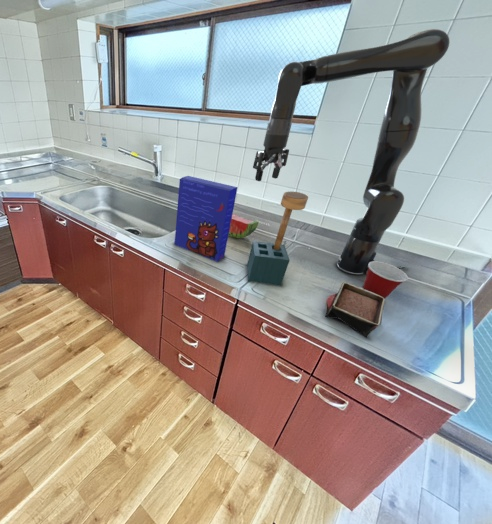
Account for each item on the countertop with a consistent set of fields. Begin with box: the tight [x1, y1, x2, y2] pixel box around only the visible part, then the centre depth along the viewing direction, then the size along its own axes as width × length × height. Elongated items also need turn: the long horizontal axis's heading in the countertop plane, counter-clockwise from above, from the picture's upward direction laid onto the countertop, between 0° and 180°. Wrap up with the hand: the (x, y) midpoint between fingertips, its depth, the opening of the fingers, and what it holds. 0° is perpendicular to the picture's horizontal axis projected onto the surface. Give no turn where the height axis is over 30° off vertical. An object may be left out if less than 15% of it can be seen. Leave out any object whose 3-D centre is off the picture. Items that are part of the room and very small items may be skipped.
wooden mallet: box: [273, 191, 309, 250], centre depth 100 cm, size 8×7×32 cm
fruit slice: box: [228, 213, 259, 239], centre depth 138 cm, size 26×6×10 cm, turn 39°
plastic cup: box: [362, 260, 409, 300], centre depth 95 cm, size 11×11×12 cm
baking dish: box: [324, 282, 386, 339], centre depth 87 cm, size 14×18×10 cm
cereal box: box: [174, 175, 238, 263], centre depth 117 cm, size 22×6×30 cm, turn 48°
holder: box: [246, 240, 290, 287], centre depth 107 cm, size 11×11×11 cm
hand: (266, 179), depth 108 cm, fingers open, 8 cm apart
